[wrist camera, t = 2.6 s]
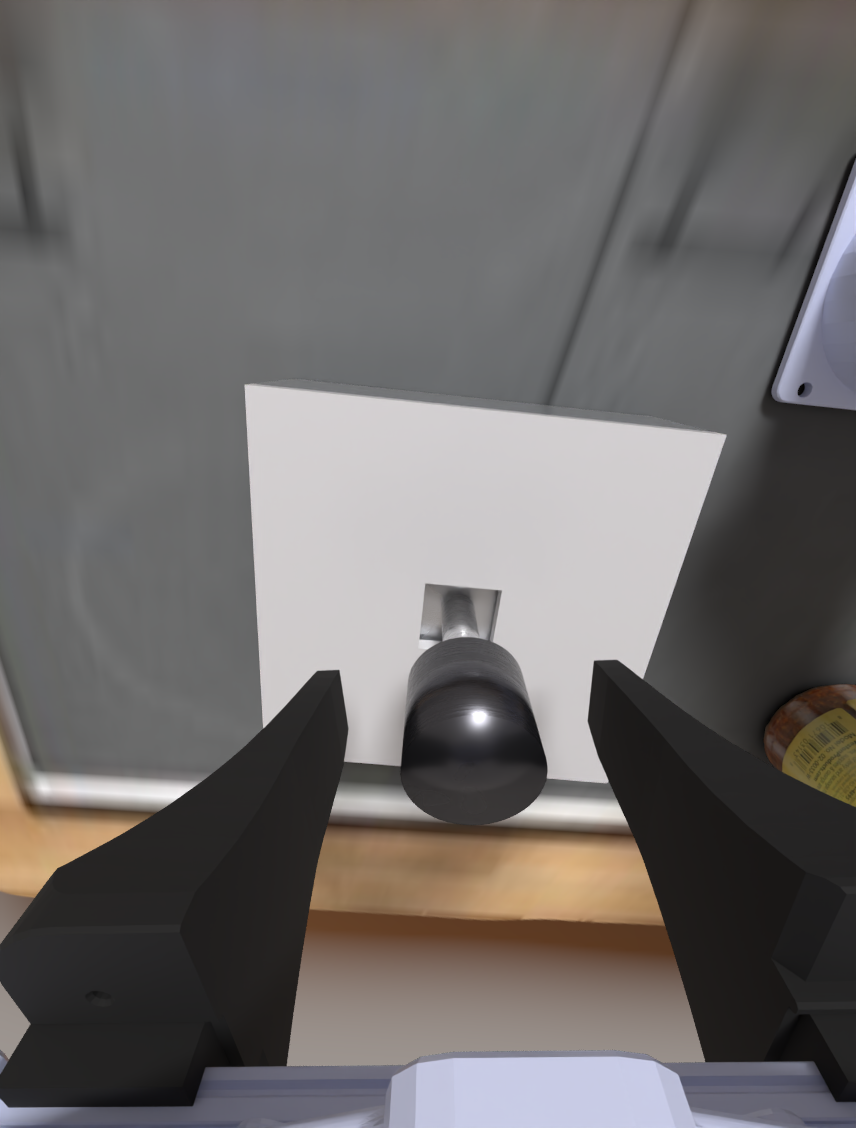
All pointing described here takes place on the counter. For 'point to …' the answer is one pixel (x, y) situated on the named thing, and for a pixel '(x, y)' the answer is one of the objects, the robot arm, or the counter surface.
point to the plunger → (468, 717)
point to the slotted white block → (462, 544)
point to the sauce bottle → (817, 740)
